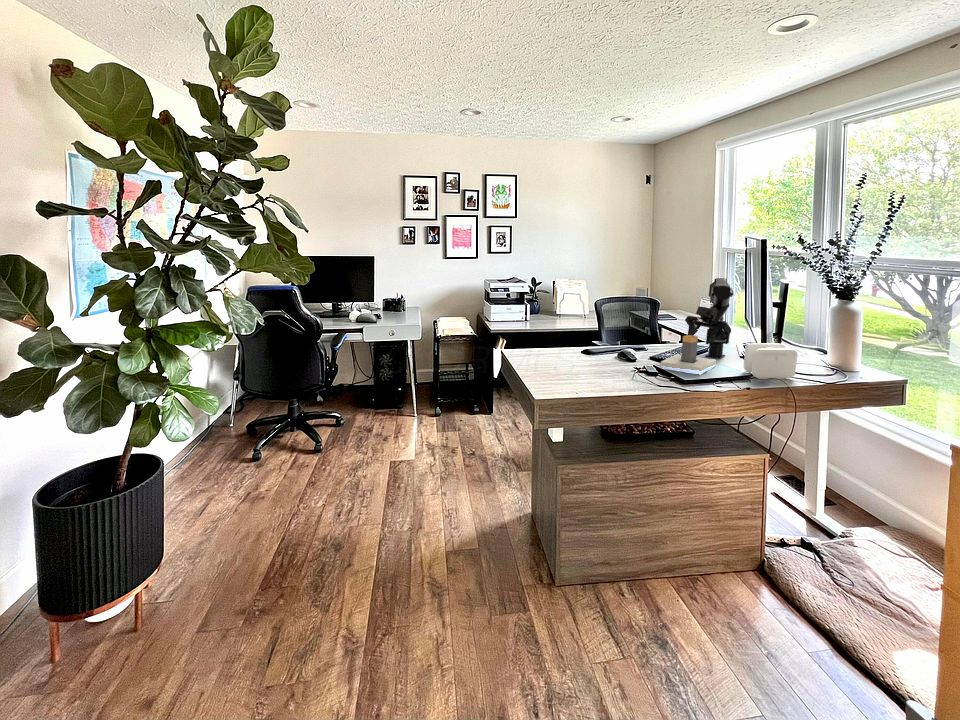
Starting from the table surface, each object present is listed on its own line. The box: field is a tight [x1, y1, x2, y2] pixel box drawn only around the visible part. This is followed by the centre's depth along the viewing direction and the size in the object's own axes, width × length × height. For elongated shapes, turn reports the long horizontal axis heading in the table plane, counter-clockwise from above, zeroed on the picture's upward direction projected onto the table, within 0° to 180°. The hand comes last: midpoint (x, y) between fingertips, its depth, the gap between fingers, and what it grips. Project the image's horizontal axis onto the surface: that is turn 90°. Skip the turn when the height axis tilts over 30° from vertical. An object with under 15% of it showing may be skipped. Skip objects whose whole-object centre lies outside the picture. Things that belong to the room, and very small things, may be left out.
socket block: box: [660, 353, 717, 371], centre depth 225 cm, size 16×16×3 cm
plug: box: [680, 335, 699, 363], centre depth 224 cm, size 4×4×13 cm
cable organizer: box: [743, 342, 798, 380], centre depth 211 cm, size 15×11×12 cm
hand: (696, 341), depth 225 cm, fingers open, 9 cm apart
